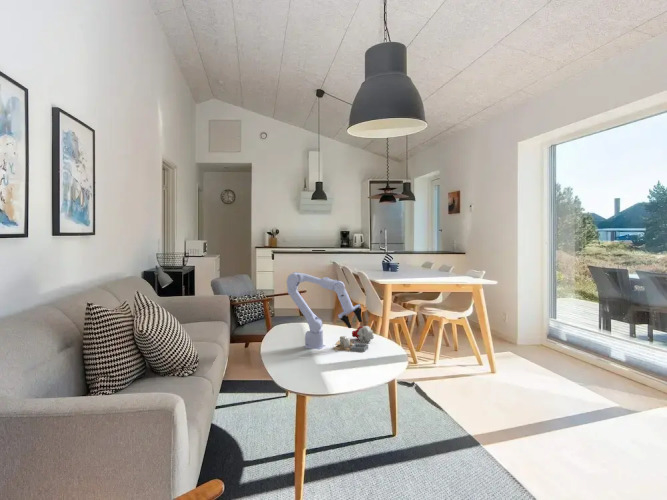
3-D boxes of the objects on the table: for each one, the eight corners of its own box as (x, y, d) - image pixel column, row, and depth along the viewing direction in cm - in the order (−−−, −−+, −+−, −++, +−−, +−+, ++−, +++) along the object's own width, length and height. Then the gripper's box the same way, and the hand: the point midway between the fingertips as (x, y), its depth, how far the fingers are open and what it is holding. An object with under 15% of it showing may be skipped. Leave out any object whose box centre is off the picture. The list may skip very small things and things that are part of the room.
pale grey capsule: (342, 349, 231) (342, 339, 231) (345, 348, 234) (344, 338, 234) (348, 350, 229) (348, 340, 229) (350, 348, 233) (350, 338, 232)
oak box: (334, 350, 232) (334, 347, 232) (340, 346, 240) (340, 343, 240) (349, 351, 228) (349, 348, 228) (355, 347, 236) (355, 344, 236)
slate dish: (350, 351, 229) (350, 346, 229) (355, 347, 236) (355, 343, 236) (364, 352, 226) (363, 348, 226) (368, 349, 233) (368, 344, 233)
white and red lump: (373, 343, 242) (348, 344, 248) (379, 338, 253) (355, 339, 258) (371, 327, 242) (346, 329, 248) (377, 323, 253) (353, 324, 258)
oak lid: (334, 345, 241) (334, 342, 241) (338, 341, 250) (338, 338, 250) (350, 346, 239) (350, 343, 239) (353, 342, 248) (353, 339, 248)
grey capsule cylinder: (339, 347, 235) (338, 337, 235) (341, 345, 239) (341, 336, 238) (344, 347, 234) (344, 338, 234) (347, 346, 237) (346, 336, 237)
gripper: (339, 306, 228) (349, 330, 228) (359, 296, 235) (369, 318, 235) (332, 308, 234) (342, 330, 234) (352, 297, 241) (362, 319, 241)
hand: (355, 324), depth 235 cm, fingers open, 7 cm apart
